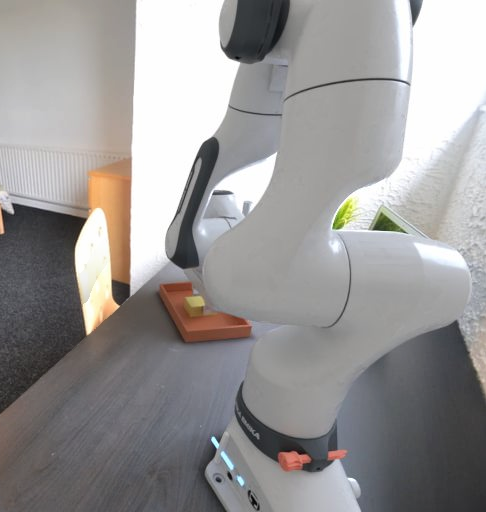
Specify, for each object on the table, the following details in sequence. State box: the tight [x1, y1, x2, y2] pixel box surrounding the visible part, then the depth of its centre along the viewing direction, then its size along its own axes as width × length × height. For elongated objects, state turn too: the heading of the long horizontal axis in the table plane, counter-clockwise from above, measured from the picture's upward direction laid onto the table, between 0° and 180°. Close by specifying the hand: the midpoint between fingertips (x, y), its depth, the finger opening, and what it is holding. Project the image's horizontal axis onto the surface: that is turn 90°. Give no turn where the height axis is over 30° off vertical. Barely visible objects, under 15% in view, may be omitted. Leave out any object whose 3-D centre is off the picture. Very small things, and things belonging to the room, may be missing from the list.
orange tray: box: [158, 281, 253, 343], centre depth 92 cm, size 21×15×3 cm
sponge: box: [184, 296, 218, 317], centre depth 92 cm, size 7×4×3 cm, turn 96°
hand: (201, 306), depth 92 cm, fingers closed on sponge, 4 cm apart
